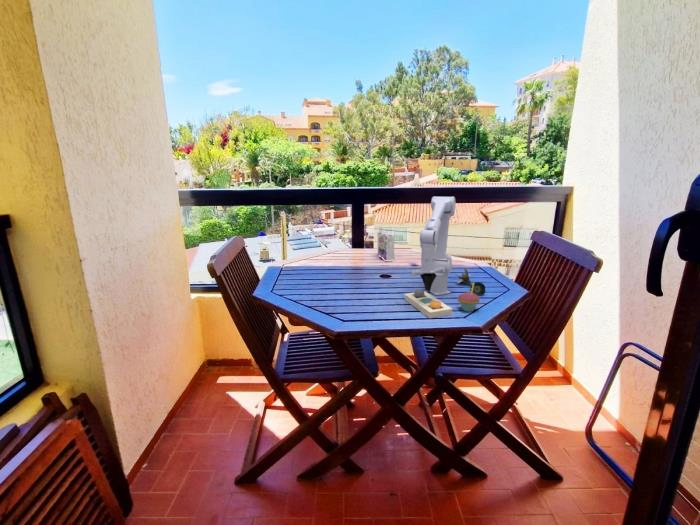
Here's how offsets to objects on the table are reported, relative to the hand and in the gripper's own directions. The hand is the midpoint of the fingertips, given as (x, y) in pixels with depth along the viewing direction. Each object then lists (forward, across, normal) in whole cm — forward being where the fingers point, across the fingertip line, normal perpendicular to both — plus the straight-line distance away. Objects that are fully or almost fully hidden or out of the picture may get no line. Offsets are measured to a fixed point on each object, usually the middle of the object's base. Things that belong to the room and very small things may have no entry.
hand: (427, 290), depth 163 cm
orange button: (+6, 0, -7) cm, 9 cm away
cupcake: (+8, +14, -9) cm, 18 cm away
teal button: (+7, 0, 0) cm, 7 cm away
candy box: (+8, +15, +80) cm, 82 cm away
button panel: (+7, 0, 0) cm, 7 cm away
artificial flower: (+8, +30, +14) cm, 34 cm away
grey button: (+6, 0, +7) cm, 9 cm away
